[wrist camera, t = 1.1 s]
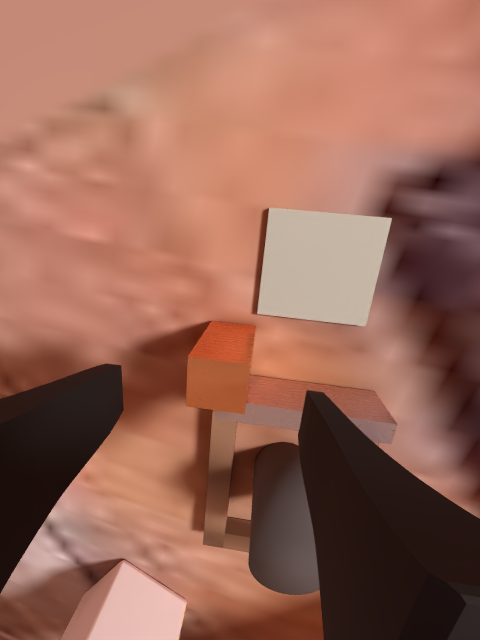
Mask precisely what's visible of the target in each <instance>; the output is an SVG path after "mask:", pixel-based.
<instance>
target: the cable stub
mask: <svg viewBox="0 0 480 640" xmlns="http://www.w3.org/2000/svg"><path fill="white" fill-rule="evenodd" d="M249 568H250V571H251V573H252V575H253V576H254V578H255V579H256V580H257V581H258V582H259V583H261V584H262V585H263V586H265V587H267V588H269V589H271V590H273V591H276V592H279V593H283V594H289V595H302V594H308V593H312V592H315V591H317V590H319V589H320V586H319V576H318V566H317V557H316V547H315V540H314V533H313V527H312V521H311V516H310V511H309V506H308V501H307V496H306V491H305V486H304V480H303V475H302V470H301V464H300V456H299V446H298V445H295V444H292V443H287V442H278V443H273V444H270V445H268V446H266V447H264V448H263V449H262V450H261V451H260V452H259V453H258V454H257V456H256V459H255V465H254V482H253V498H252V514H251V530H250V547H249Z"/></svg>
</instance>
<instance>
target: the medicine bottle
mask: <svg viewBox="0 0 480 640" xmlns="http://www.w3.org/2000/svg"><path fill="white" fill-rule="evenodd" d="M186 606H187V602H186V600H185V599H184V598H182V597H181V596H179V595H178V594H176V593H175V592H173V591H172V590H170V589H169V588H167V587H166V586H164V585H162V584H161V583H159V582H158V581H156V580H155V579H153V578H152V577H150V576H149V575H147V574H146V573H144V572H143V571H141V570H140V569H138V568H137V567H135V566H134V565H132V564H131V563H129V562H127V561H126V560H122V561H120V562H119V563H118V564H117V565H116V566H115V567H114V568H113V569H111V570H110V571H109V572H108V573H107V574H106V575H105V576H104V577H103V578H101V579H100V580H99V581H98V582H97V583H96V584H95V585H94V586H93V587H91V588H90V589H89V590H88V591H87V592H86V593H85V594H84V595H83V597H82V599H81V601H80V603H79V605H78V607H77V609H76V611H75V612H74V614H73V616H72V618H71V620H70V622H69V624H68V626H67V628H66V630H65V632H64V634H63V636H62V638H61V640H179V638H180V634H181V629H182V625H183V620H184V616H185V611H186Z"/></svg>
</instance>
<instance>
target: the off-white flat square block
mask: <svg viewBox="0 0 480 640" xmlns="http://www.w3.org/2000/svg"><path fill="white" fill-rule="evenodd" d="M391 220H392V218H382V217H371V216H360V215H348V214H337V213H326V212H315V211H303V210H292V209H281V208H270V207H269V215H268V223H267V232H266V241H265V250H264V258H263V267H262V276H261V284H260V293H259V302H258V311H257V314H263V315H272V316H280V317H289V318H298V319H306V320H315V321H323V322H332V323H341V324H349V325H358V326H366V323H367V319H368V315H369V310H370V306H371V302H372V298H373V294H374V290H375V286H376V282H377V278H378V274H379V269H380V265H381V261H382V257H383V253H384V249H385V245H386V241H387V237H388V233H389V228H390V224H391Z"/></svg>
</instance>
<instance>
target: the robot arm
mask: <svg viewBox="0 0 480 640" xmlns="http://www.w3.org/2000/svg"><path fill="white" fill-rule="evenodd" d="M122 412H123V393H122V371H121V366H120V365H113V364H103V365H99V366H96V367H93V368H90V369H87V370H84V371H81V372H79V373H76V374H73V375H70V376H68V377H65V378H62V379H59V380H57V381H54V382H51V383H48V384H45V385H43V386H40V387H37V388H34V389H31V390H28V391H25V392H22V393H19V394H16V395H12V396H9V397H6V398H3V399H0V593H1V591H2V590H3V588H4V586H5V584H6V583H7V581H8V579H9V578H10V576H11V574H12V572H13V571H14V569H15V567H16V566H17V564H18V562H19V561H20V559H21V558H22V556H23V554H24V553H25V551H26V550H27V548H28V546H29V545H30V543H31V541H32V540H33V538H34V537H35V535H36V533H37V532H38V530H39V529H40V527H41V526H42V524H43V523H44V521H45V519H46V518H47V516H48V515H49V513H50V512H51V510H52V509H53V507H54V506H55V504H56V503H57V501H58V500H59V498H60V497H61V496H62V494H63V493H64V491H65V490H66V489H67V487H68V486H69V485H70V483H71V482H72V481H73V480H74V478H75V477H76V476H77V475H78V473H79V472H80V471H81V470H82V468H83V467H84V466H85V464H86V463H87V462H88V461H89V459H90V458H91V457H92V456H93V454H94V453H95V452H96V451H97V449H98V448H99V447H100V445H101V444H102V443H103V441H104V440H105V439H106V438H107V436H108V435H109V434H110V432H111V430H112V429H113V427H114V426H115V424H116V422H117V421H118V419H119V417H120V415H121V413H122ZM298 441H299V456H300V464H301V470H302V475H303V480H304V486H305V491H306V496H307V501H308V506H309V511H310V516H311V521H312V527H313V533H314V540H315V547H316V557H317V566H318V576H319V586H320V597H321V608H322V619H323V631H324V640H480V519H479V518H477V517H476V516H474V515H472V514H471V513H469V512H467V511H466V510H464V509H463V508H461V507H460V506H458V505H456V504H455V503H453V502H452V501H450V500H449V499H447V498H446V497H444V496H443V495H441V494H440V493H439V492H437V491H436V490H434V489H433V488H431V487H430V486H428V485H427V484H425V483H424V482H423V481H421V480H420V479H418V478H417V477H416V476H414V475H413V474H412V473H410V472H409V471H408V470H406V469H405V468H404V467H403V466H401V465H400V464H399V463H398V462H396V461H395V460H394V459H392V458H391V457H390V456H389V455H388V454H386V453H385V452H384V451H383V450H382V449H380V448H379V447H378V446H377V445H376V444H375V443H374V442H373V441H372V440H370V439H369V438H368V437H367V436H366V435H365V434H364V433H363V432H362V431H361V430H360V429H359V428H358V427H357V426H356V425H355V424H354V423H353V422H352V421H351V420H350V419H349V418H348V417H347V416H346V415H345V414H344V413H343V412H342V411H341V410H340V409H339V408H338V407H337V406H336V405H335V404H334V403H333V402H332V400H331V399H330V398H329V397H328V396H327V395H326V394H325V393H324V392H318V391H311V390H307V391H306V396H305V402H304V407H303V412H302V417H301V423H300V428H299V433H298Z"/></svg>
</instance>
